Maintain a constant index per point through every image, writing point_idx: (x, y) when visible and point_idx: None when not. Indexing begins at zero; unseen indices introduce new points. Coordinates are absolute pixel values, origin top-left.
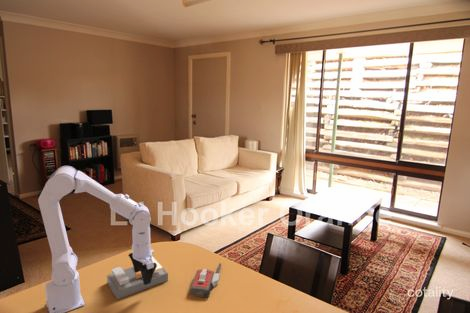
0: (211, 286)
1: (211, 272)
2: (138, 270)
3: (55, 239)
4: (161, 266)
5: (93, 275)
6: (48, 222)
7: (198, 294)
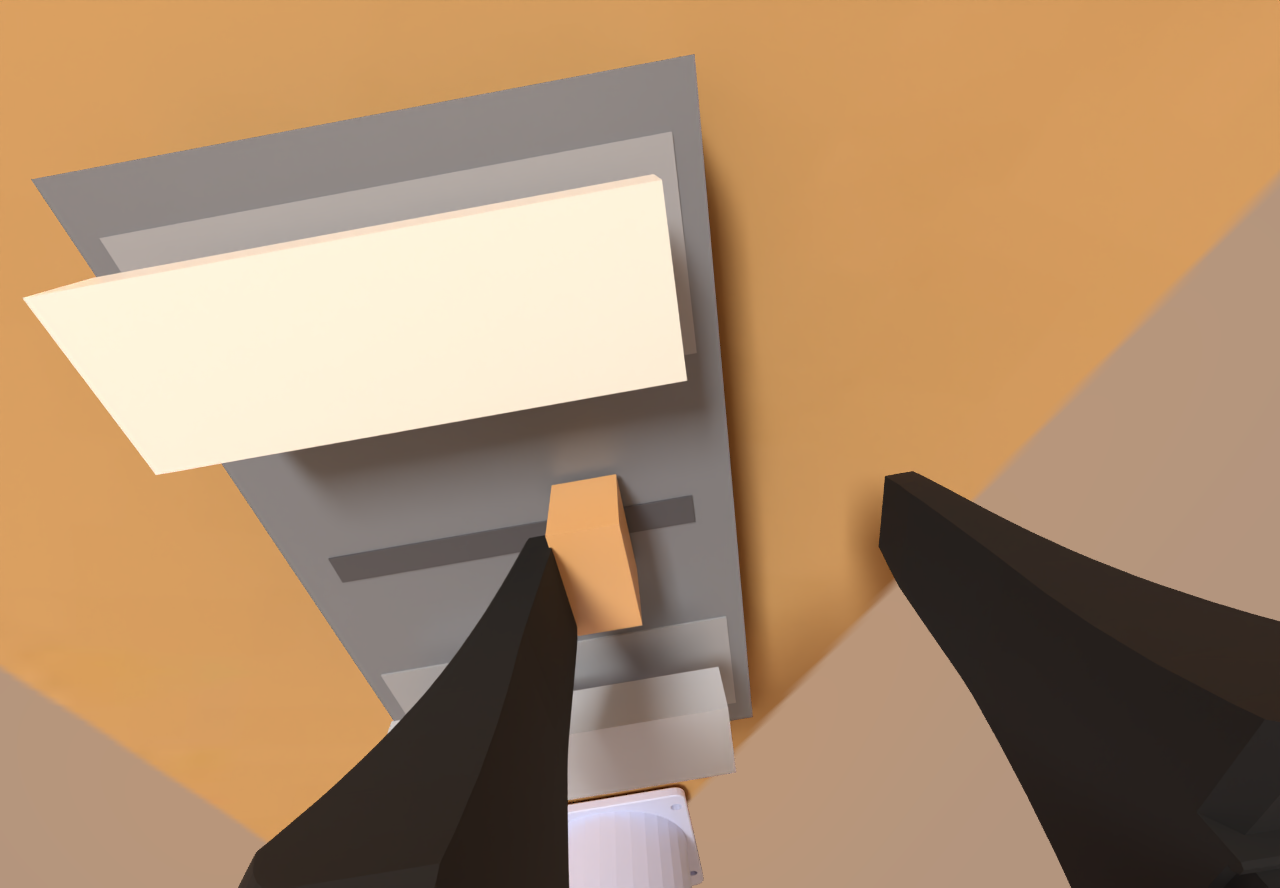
0: None
1: None
2: (563, 602)
3: None
4: (613, 199)
5: (295, 760)
6: None
7: None
